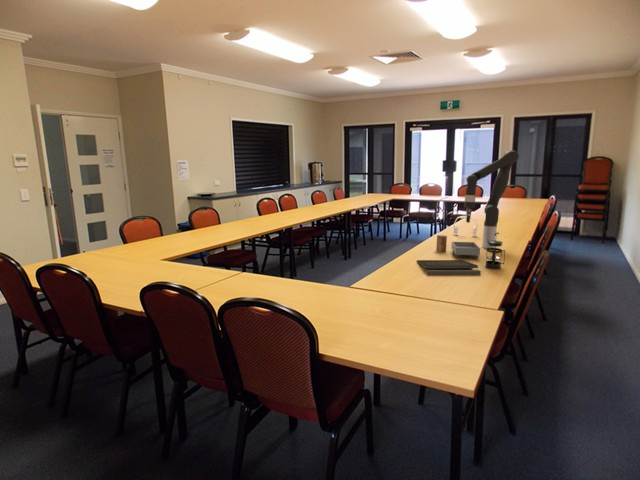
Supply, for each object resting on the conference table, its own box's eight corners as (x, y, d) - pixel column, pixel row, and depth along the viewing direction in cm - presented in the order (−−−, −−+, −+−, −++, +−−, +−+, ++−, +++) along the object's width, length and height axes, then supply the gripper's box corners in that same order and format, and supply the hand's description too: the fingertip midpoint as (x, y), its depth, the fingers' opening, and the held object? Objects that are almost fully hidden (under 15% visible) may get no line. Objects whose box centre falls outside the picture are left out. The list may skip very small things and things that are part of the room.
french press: (483, 268, 262) (486, 233, 257) (484, 264, 270) (487, 230, 265) (503, 270, 257) (506, 234, 252) (503, 266, 265) (507, 231, 261)
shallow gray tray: (473, 252, 302) (474, 242, 300) (479, 259, 283) (480, 248, 281) (451, 252, 305) (451, 241, 303) (455, 258, 285) (456, 247, 284)
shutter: (416, 270, 279) (428, 278, 247) (416, 260, 278) (428, 266, 247) (463, 267, 278) (481, 275, 247) (463, 257, 278) (481, 264, 247)
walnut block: (441, 250, 311) (442, 234, 308) (445, 251, 306) (446, 235, 304) (436, 250, 309) (437, 235, 307) (440, 252, 305) (441, 236, 302)
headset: (452, 235, 365) (453, 215, 361) (453, 234, 371) (454, 214, 368) (476, 237, 357) (477, 217, 353) (477, 235, 363) (478, 216, 359)
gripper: (475, 201, 306) (473, 223, 308) (474, 200, 319) (472, 221, 322) (464, 201, 308) (463, 222, 311) (464, 200, 321) (462, 220, 324)
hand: (467, 222), depth 316 cm, fingers open, 8 cm apart
